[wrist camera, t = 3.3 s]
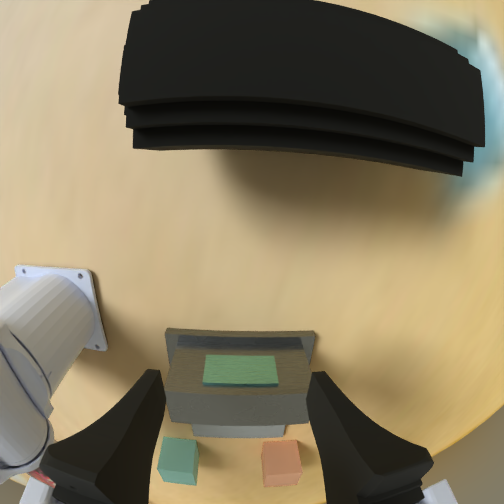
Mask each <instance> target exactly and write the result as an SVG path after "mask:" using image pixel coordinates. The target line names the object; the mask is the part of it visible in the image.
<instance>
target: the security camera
mask: <svg viewBox="0 0 504 504" xmlns="http://www.w3.org/2000/svg"><path fill="white" fill-rule="evenodd" d="M118 95H119V103H118V104H121V105H123V106H125V110H124V115H126V127H127V128H131V129H133V148H134V149H147V150H159V151H161V150H188V149H238V150H266V151H283V152H297V153H309V154H319V155H329V156H337V157H346V158H353V159H360V160H367V161H374V162H380V163H386V164H392V165H398V166H403V167H408V168H413V169H418V170H424V171H431V172H438V173H444V174H450V175H456V176H461V177H462V172H463V161H466V162H473V161H474V147H485V115H484V100H483V89H482V80H481V72H480V70H479V69H477V68H476V67H474V66H472V65H470V64H469V61H468V59H467V58H465V57H463V56H461V55H460V54H458V52H457V50H456V49H455V48H453V47H451V46H449V45H447V44H445V43H443V42H441V41H439V40H437V39H435V38H433V37H431V36H428V35H426V34H424V33H422V32H419V31H417V30H415V29H412V28H410V27H407V26H405V25H402V24H400V23H397V22H394V21H391V20H389V19H386V18H383V17H380V16H377V15H373V14H370V13H367V12H363V11H360V10H356V9H352V8H349V7H344V6H340V5H336V4H331V3H326V2H321V1H316V0H149V4H146V5H141V10H137V11H132V14H131V18H130V23H129V28H128V34H127V39H126V45H124V51H123V58H122V65H121V72H120V81H119V91H118Z"/></svg>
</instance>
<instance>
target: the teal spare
mask: <svg viewBox="0 0 504 504" xmlns="http://www.w3.org/2000/svg"><path fill="white" fill-rule="evenodd" d="M198 462H199V452H198V447H197V442H196V440H187V439H178V438H169V437H164V438H163V442H162V447H161V452H160V457H159V462H158V467H157V470H158V471H159V473H160V475H161V477H162V479H163V481H164V482H171V483H178V484H186V485H196V484H197V473H198Z"/></svg>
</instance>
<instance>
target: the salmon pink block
mask: <svg viewBox="0 0 504 504" xmlns="http://www.w3.org/2000/svg"><path fill="white" fill-rule="evenodd" d="M261 459H262V471H263V483H264V487H275V486H288V485H297V483H298V481H299V479H300V477H301V475H302V473H303V472H302V466H301V461H300V456H299V450H298V445H297V440H290V441H274V442H263V449H262V455H261Z"/></svg>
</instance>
